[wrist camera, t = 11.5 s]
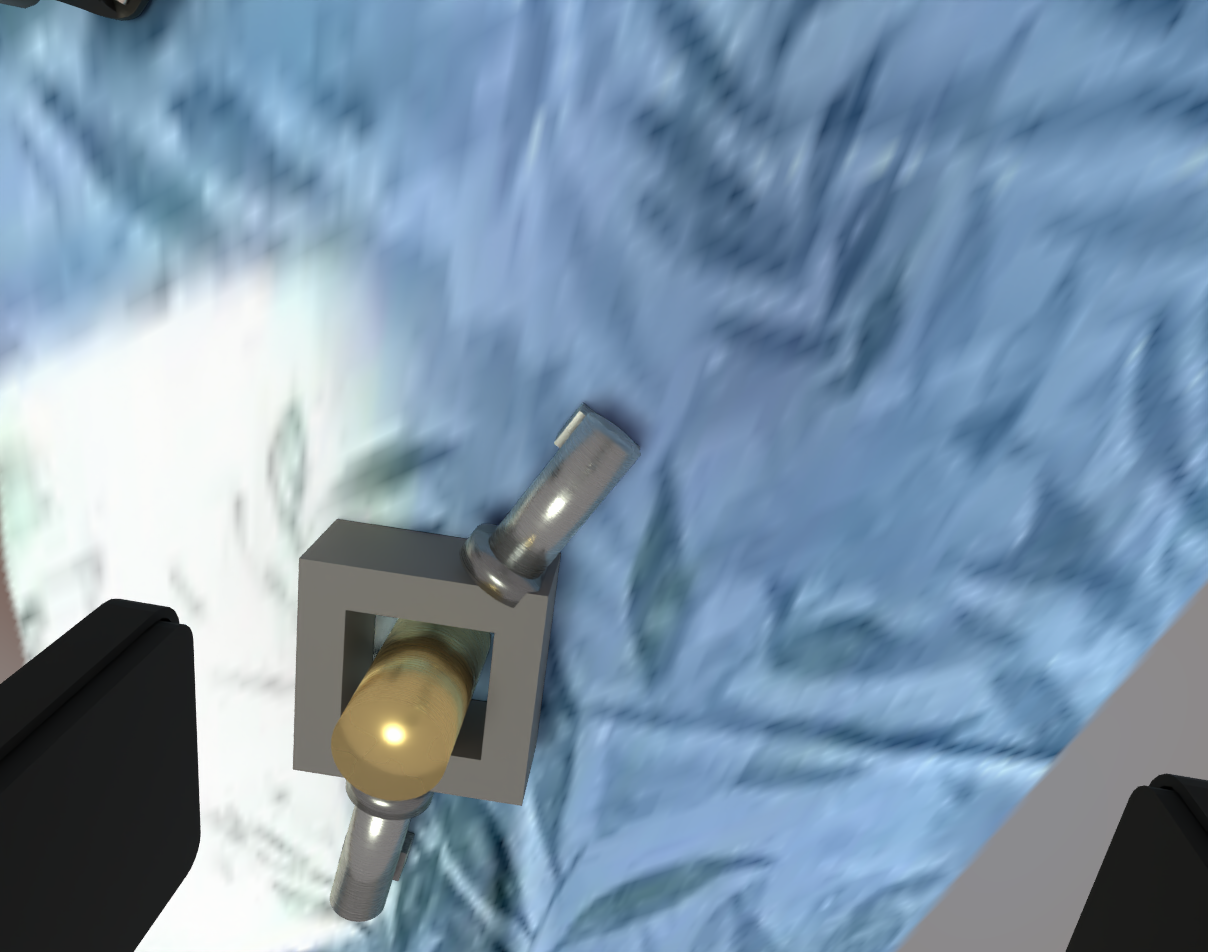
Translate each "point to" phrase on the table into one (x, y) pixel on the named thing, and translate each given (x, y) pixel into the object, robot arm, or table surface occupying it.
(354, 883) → the shaft
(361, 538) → the grey square frame
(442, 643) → the yellow cylinder
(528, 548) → the shaft
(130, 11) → the battery charger
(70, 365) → the table surface
